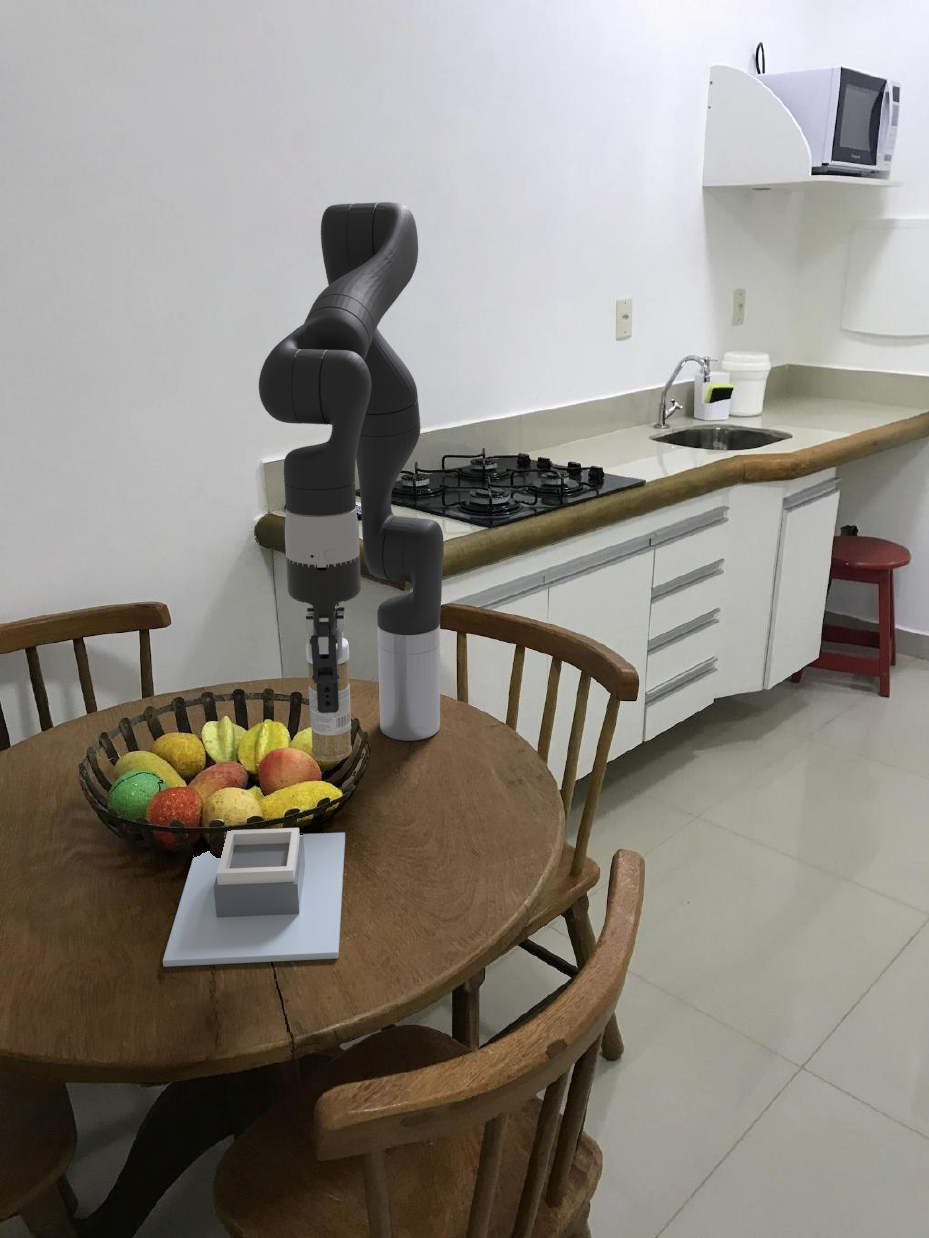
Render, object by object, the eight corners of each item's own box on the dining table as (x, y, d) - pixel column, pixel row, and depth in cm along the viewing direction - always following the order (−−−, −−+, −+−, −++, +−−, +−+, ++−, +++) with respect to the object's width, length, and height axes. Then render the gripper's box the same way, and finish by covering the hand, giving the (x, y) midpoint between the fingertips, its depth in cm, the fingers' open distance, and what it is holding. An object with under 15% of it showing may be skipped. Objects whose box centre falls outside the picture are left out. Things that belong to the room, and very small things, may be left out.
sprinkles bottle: (337, 739, 112) (333, 630, 107) (360, 754, 108) (357, 642, 104) (303, 751, 109) (297, 640, 104) (325, 767, 106) (320, 653, 101)
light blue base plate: (199, 843, 122) (195, 799, 119) (345, 837, 123) (343, 794, 121) (163, 966, 101) (157, 916, 99) (338, 958, 103) (336, 909, 100)
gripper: (290, 531, 106) (298, 675, 113) (280, 573, 93) (289, 733, 99) (359, 530, 107) (363, 673, 113) (359, 571, 94) (364, 730, 100)
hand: (329, 700), depth 106 cm, fingers closed on sprinkles bottle, 4 cm apart
